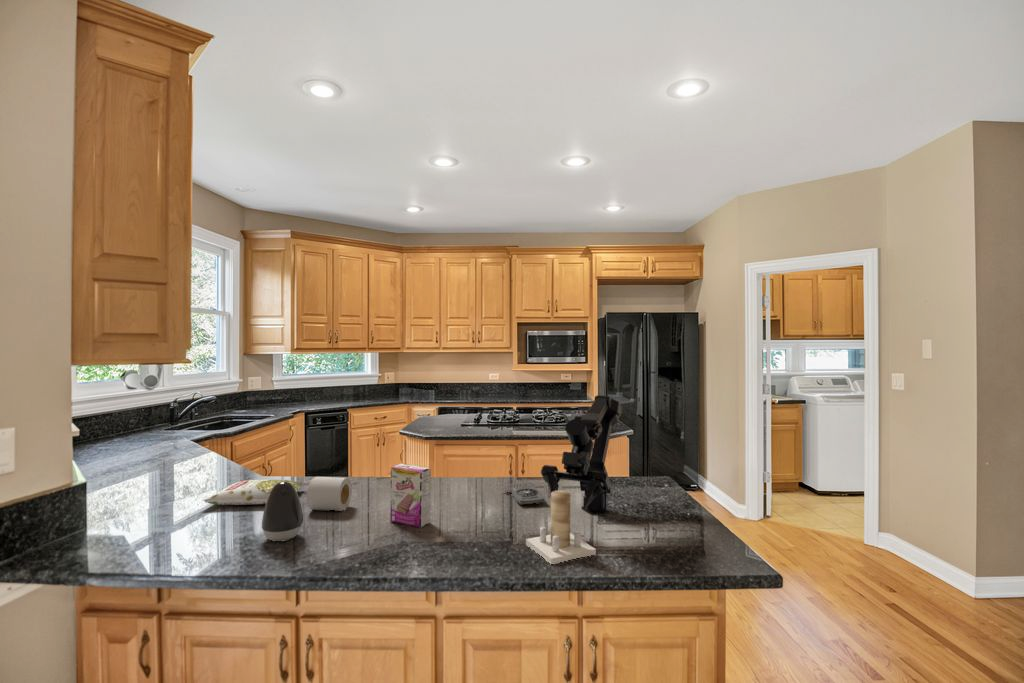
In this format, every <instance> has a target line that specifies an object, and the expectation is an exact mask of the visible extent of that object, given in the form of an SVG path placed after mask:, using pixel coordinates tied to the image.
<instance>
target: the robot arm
mask: <svg viewBox="0 0 1024 683" xmlns="http://www.w3.org/2000/svg"><path fill="white" fill-rule="evenodd" d="M622 409H623V408H622V405H621V403H620V402H619V401H618V400H616V399H613V398H612V396H609V395H604V394H603V395H599V394H597V395H595V397H594V401H593V403H592V404H591V405H590V407H589V409H588V410H587V412H586V413H585V414H581V415H578V416H577V415H575V416H574V418H573V419H571V420H569V421H568V422H567V423H566V424H565V427H564V428H565V433H566V435H567V437H568V440H569V442H570V444H571V445H572V447H571V451H563V452H562V458H561V464H562V465H563V469H564V470H565V471H559V469H558V467H557V465H548V464H545V465H542V466H541V470H540V475H541V476H542V478H543V480H544V482H545V483H546V484H548V485H549V489H550V490H549V491H550V492H549V493H550V496H551V492H553V491H559V490H558V489H559V487H560V485H559V483H560V481H561V480H568V481H576V482H579V487H580V491H581V492H582V491H583V492H584V495H583V506H581V509H582V510H584V511H585V512H587V513H589V514H591V515H596V514H597V515H598V514H602V513H604V514H605V513H609V512H610V509H609V508H607V495H608V494H611V493H612V487H611V485H612V483H611V480H610V478H609V476H608V471H607V468H606V466H605V463H606V457H607V453H608V448H609V443H610V439H611V433H612V429H613V428H614V427H615V425H616V424H617V423H618V422H619V419H620V416H621V415H622V413H623V412H622ZM592 439H594V441H593V440H592ZM560 479H561V480H560Z"/></svg>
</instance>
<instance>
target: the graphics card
mask: <svg viewBox="0 0 1024 683" xmlns="http://www.w3.org/2000/svg"><path fill="white" fill-rule="evenodd" d="M501 489H504V490H502V492H501V493H503V494H507V493H506V492H509V493H512V494H511V496H512V495H513V496H514V497H513V498H514V499H515V501H516V503H518V504H519V505H532V504H533V503H536V504H540V503H539V502H541V503H545V502H546V500H545V497H544V495H543V494H542V493H541V492H540V490H538V489H537V487H536V486H535V482H522V483H511V484H504V485H502V486H501ZM509 493H508V494H509Z"/></svg>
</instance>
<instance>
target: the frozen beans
mask: <svg viewBox="0 0 1024 683" xmlns="http://www.w3.org/2000/svg"><path fill="white" fill-rule="evenodd" d="M283 481H285V482H289V483H291V484H292V485H293V486H294V488H295V490H296V491H297V490H299V489H300V488H301V487H302V486H304V485H305V483H302V482H298V481H295V480H290V479H251V480H250V479H247V480H241V481H237V482H235V483H233V484H230V485H229V486H227V487H225V488H223V489H221V490H220V491H219V492H216V493H215V494H212V495H210V496H209V497H207V498H205V499H203V500H201V501H202V502H205V503H207V504H209V505H210V504H211V505H217V506H218V505H220V506H221V505H222V506H230V505H231V506H234V505H235V506H239V505H240V506H241V505H242V506H243V505H245V506H247V505H250V506H251V505H266V502H267V499H268V496H269V494H270V492H271V490H272V488H273V487H274V486H275V485H276V484H277V483H279V482H283Z"/></svg>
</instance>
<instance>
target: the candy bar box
mask: <svg viewBox="0 0 1024 683" xmlns="http://www.w3.org/2000/svg"><path fill="white" fill-rule="evenodd" d="M389 518H390V520H389V521H390V522H392V523H395V524H396V523H397V524H400V525H404V526H405V525H407V526H411V527H414V528H416V527H417V528H423V527H425V526H426V524H427V525H428V524H430V523H431V467H426V466H421V465H419V466H418V465H413V464H406V463H398V464H396V465H392V466H391V467H390V516H389ZM424 525H425V526H424Z"/></svg>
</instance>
